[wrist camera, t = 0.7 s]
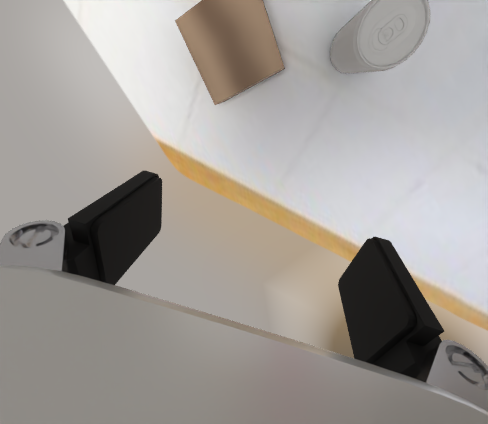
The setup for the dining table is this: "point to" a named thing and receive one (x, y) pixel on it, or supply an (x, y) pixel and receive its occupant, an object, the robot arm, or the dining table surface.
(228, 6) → the walnut block
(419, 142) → the dining table surface
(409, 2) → the beverage can
